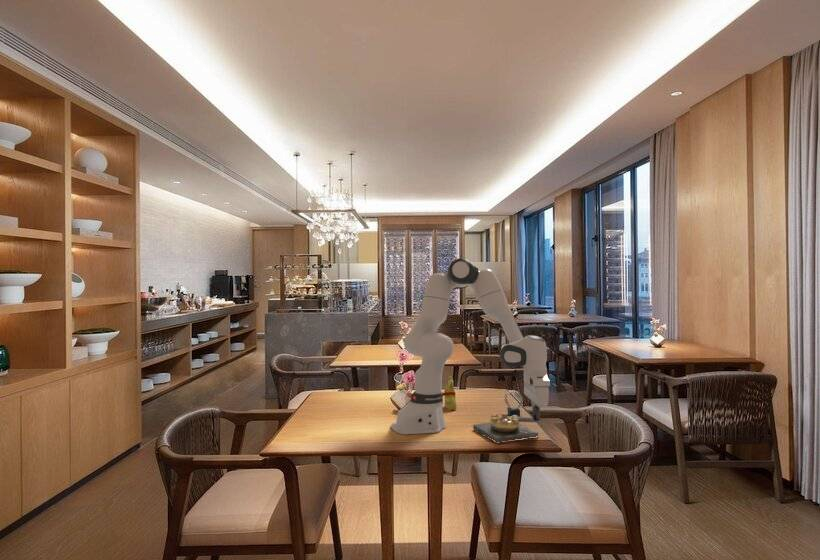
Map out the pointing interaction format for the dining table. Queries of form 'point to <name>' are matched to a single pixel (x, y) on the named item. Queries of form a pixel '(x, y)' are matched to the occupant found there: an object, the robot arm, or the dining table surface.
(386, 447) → the dining table surface
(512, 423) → the ball knob lever
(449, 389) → the chocolate bunny
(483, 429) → the plate
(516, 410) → the watch
